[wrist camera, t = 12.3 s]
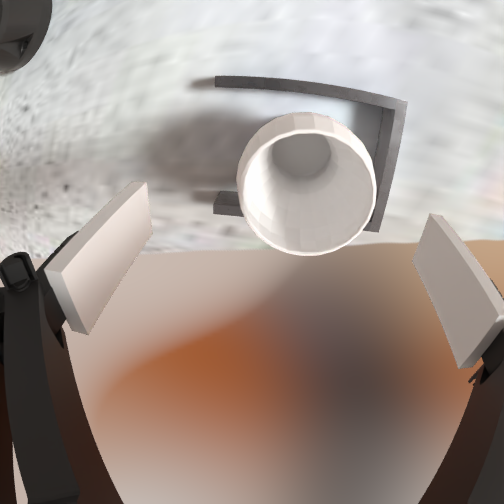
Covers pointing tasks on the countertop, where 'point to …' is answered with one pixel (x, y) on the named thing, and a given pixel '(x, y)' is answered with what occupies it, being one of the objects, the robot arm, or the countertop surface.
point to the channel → (391, 107)
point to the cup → (306, 184)
